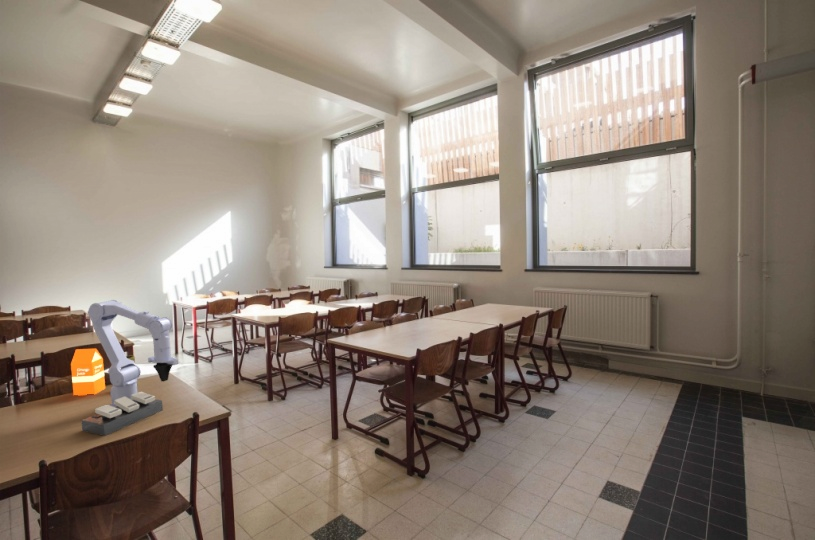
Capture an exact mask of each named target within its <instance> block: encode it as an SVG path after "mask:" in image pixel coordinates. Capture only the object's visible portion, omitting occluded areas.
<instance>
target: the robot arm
mask: <svg viewBox="0 0 815 540" xmlns="http://www.w3.org/2000/svg"><path fill="white" fill-rule="evenodd" d="M149 312H150V311H147V310H143V311H140V312H139V311H137V310H136V309H134V308H133V309H132V308H131V307H130V306H129V307H128V306H127V305H125V304H123V302H122V301H118V300H116V299H111V300H108V301H102V302H94V303H92V304H91V305H90V306H89V308H88V311H87V315H88V316H89V318H90V321H91V324H92V327H93V328H92V329H93V331H94V332H95V334H96V336H97V338H98V339H99V342H100V344H101V346H102V348H103V350H104V352H105V353H106V356H107V358H108V360H109V363H110V367H109V368H108V371H107V372H108V375H109V382H110V383H111V384H112V386H111V388H110V403H111V404H109V405H110V406H112V407H116V405H115V404H114V400H116V399H119V398H122V397H124V396H125V397H127V398H129V399H130V400H132V399H131V395H133V394H135V393H138V386H137V384H138V378H139V377H140V376H141V374H142V373H141V369H140V367H139V366H138V365H137V364H136V362H135V363H134V361H133V360H130V359H127V358H126V356H127V355H126V354H125V352H124V349H123V347H122V345H121V344H120V341H119V340H118V338H117V335H116V333H115V332H114V329H113V328H112V326H111V324H112V322H113V321H114V320H115V319H116V318H117V316H121V317H124V318H128V319H130V320H132V321H133V322H134V324H135V325H138V326H139V327H142V328H145V329H147V330H148V331H149V333H150V334H151V338H152V344H153V354H154V356H150V357H147V363H152V364H154V365H153V366H152V367H153V368H154V369H155V371H156V372H157V374H158V376H159V380H160V382H167V381H168V380H169V376H170V372H171V369H172V368H173V366H176V365H178V364H179V359H178V358H175V357H172V353H171V341H170V339H171V338H170V337H171V336H170V330H171V329H172V327H173V323H172V320H171V319H170V318H168V317H165V316H164V317H160V316H158V315H154V314H153V313H149Z"/></svg>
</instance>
